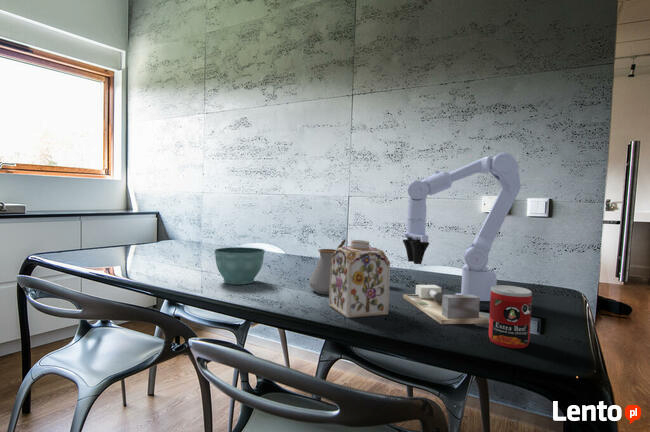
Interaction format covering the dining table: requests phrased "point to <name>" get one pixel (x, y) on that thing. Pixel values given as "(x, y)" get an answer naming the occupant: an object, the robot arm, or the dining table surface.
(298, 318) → the dining table surface
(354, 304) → the decorative jar
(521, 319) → the canned food
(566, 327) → the dining table surface
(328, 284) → the coffee pot
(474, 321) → the bench
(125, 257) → the dining table surface
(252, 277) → the flower pot
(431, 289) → the gauge carriage
